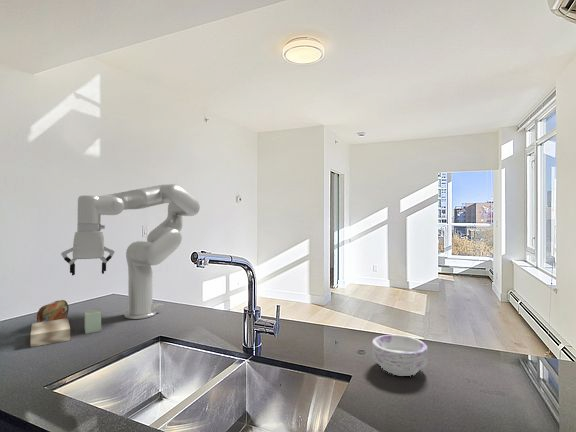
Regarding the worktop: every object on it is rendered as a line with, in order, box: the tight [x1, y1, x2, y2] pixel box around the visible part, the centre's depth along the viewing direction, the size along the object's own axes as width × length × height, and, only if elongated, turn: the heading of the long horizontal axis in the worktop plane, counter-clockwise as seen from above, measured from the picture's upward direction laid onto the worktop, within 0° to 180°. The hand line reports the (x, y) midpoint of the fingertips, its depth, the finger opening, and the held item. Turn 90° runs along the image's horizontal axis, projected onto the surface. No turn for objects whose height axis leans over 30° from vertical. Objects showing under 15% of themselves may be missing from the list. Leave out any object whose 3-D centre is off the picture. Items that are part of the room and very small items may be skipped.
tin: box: [36, 299, 69, 323], centre depth 137 cm, size 15×3×8 cm, turn 179°
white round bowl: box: [371, 334, 429, 375], centre depth 100 cm, size 15×15×8 cm
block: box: [83, 308, 102, 334], centre depth 130 cm, size 5×5×7 cm
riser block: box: [30, 317, 71, 348], centre depth 122 cm, size 11×14×4 cm
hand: (88, 274), depth 130 cm, fingers open, 9 cm apart
